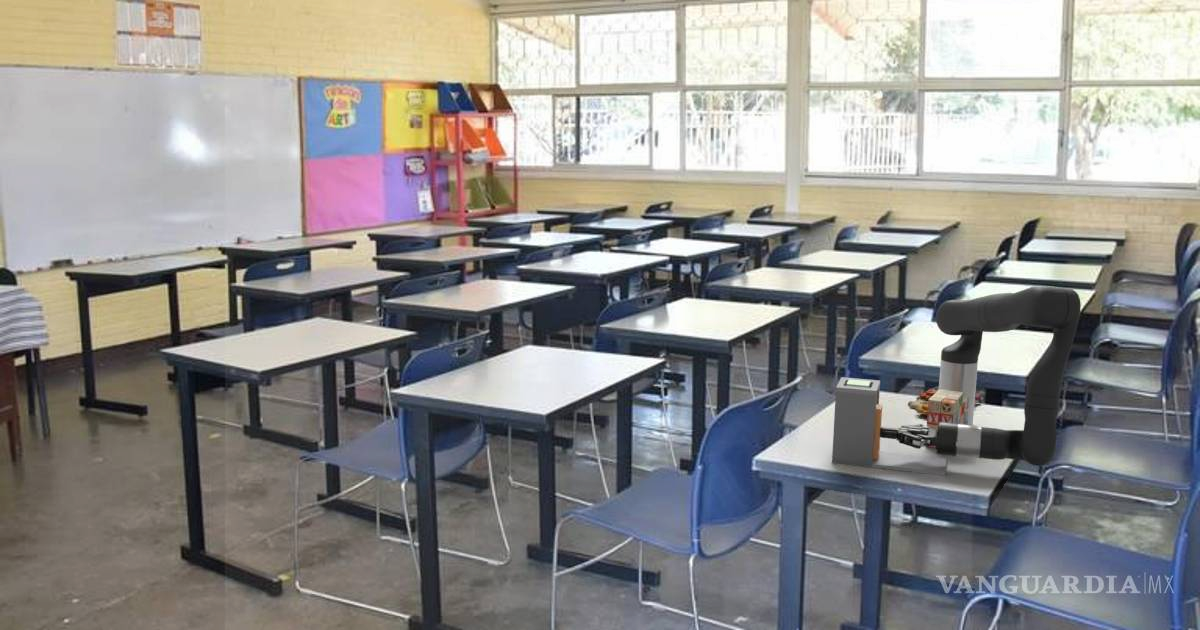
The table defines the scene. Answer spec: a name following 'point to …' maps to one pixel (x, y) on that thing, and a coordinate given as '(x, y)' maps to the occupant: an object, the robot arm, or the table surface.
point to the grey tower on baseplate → (869, 433)
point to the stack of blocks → (947, 408)
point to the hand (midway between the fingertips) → (880, 432)
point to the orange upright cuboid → (877, 431)
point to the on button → (858, 383)
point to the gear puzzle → (923, 398)
